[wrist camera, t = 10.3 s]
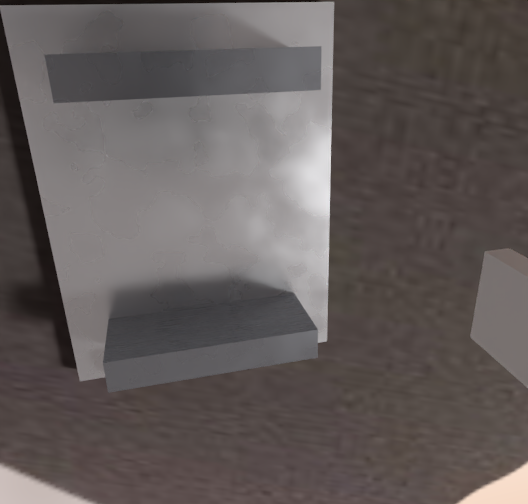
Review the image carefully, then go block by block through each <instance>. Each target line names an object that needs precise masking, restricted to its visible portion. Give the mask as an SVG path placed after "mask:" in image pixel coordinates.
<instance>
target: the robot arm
mask: <svg viewBox="0 0 528 504" xmlns="http://www.w3.org/2000/svg"><path fill="white" fill-rule="evenodd" d="M470 337H471V338H472V339H473V340H474V341H475V342H476V343H477V344H479V345H480V346H481V347H482V348H483V349H484V350H485V351H486V352H488V353H489V354H490V355H491V356H492V357H493V358H494V359H495V360H497V361H498V362H499V363H500V364H501V365H502V366H503V367H504V368H506V369H507V370H508V371H509V372H510V373H511V374H512V375H514V376H515V377H516V378H517V379H518V380H519V381H520V382H521V383H523V384H524V385H525V386H526V387H527V388H528V258H526V257H525V256H523V255H521V254H519V253H517V252H515V251H514V250H512V249H510V248H508V249H500V250H492V251H485V254H484V260H483V266H482V272H481V277H480V283H479V289H478V295H477V301H476V307H475V312H474V318H473V324H472V330H471V336H470Z"/></svg>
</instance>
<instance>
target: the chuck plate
mask: <svg viewBox="0 0 528 504" xmlns="http://www.w3.org/2000/svg"><path fill="white" fill-rule="evenodd" d="M0 11H1V16H2V20H3V25H4V30H5V34H6V39H7V44H8V48H9V53H10V58H11V62H12V67H13V71H14V76H15V81H16V85H17V90H18V95H19V99H20V104H21V109H22V113H23V118H24V123H25V127H26V132H27V137H28V141H29V146H30V151H31V155H32V160H33V165H34V169H35V174H36V179H37V183H38V188H39V193H40V197H41V202H42V207H43V211H44V216H45V221H46V225H47V230H48V235H49V239H50V244H51V249H52V253H53V258H54V263H55V267H56V272H57V277H58V281H59V286H60V291H61V295H62V300H63V305H64V309H65V314H66V319H67V323H68V328H69V332H70V337H71V342H72V346H73V351H74V356H75V360H76V365H77V370H78V374H79V379H80V381H84V380H91V379H97V378H103V377H106V383H107V388H108V393H109V392H115V391H121V390H127V389H133V388H139V387H144V386H150V385H156V384H162V383H168V382H174V381H180V380H186V379H192V378H198V377H204V376H210V375H216V374H222V373H228V372H234V371H240V370H246V369H252V368H258V367H264V366H270V365H276V364H282V363H287V362H293V361H299V360H305V359H311V358H317V357H318V343H320V342H326V341H327V315H328V267H329V220H330V172H331V124H332V76H333V29H334V2H271V3H178V4H85V5H0Z"/></svg>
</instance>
